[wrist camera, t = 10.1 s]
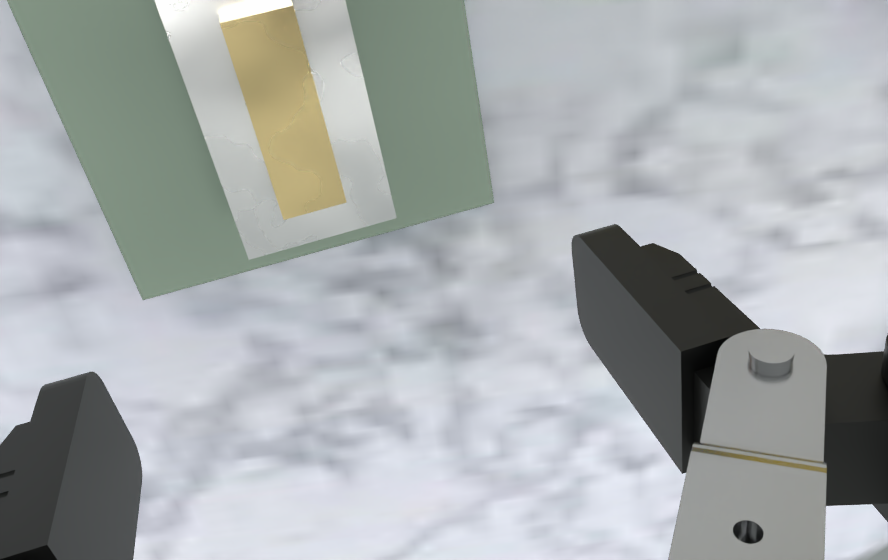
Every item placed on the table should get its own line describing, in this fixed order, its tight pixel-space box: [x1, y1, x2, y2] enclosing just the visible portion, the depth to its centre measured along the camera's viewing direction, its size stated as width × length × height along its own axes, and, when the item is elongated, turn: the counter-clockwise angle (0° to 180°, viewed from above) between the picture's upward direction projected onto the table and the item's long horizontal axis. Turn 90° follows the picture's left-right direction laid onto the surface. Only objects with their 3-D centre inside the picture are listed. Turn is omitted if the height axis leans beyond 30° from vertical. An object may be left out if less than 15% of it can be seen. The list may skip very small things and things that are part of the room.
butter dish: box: [155, 0, 397, 260], centre depth 25 cm, size 5×9×5 cm, turn 10°
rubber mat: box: [7, 0, 494, 300], centre depth 27 cm, size 14×14×1 cm
